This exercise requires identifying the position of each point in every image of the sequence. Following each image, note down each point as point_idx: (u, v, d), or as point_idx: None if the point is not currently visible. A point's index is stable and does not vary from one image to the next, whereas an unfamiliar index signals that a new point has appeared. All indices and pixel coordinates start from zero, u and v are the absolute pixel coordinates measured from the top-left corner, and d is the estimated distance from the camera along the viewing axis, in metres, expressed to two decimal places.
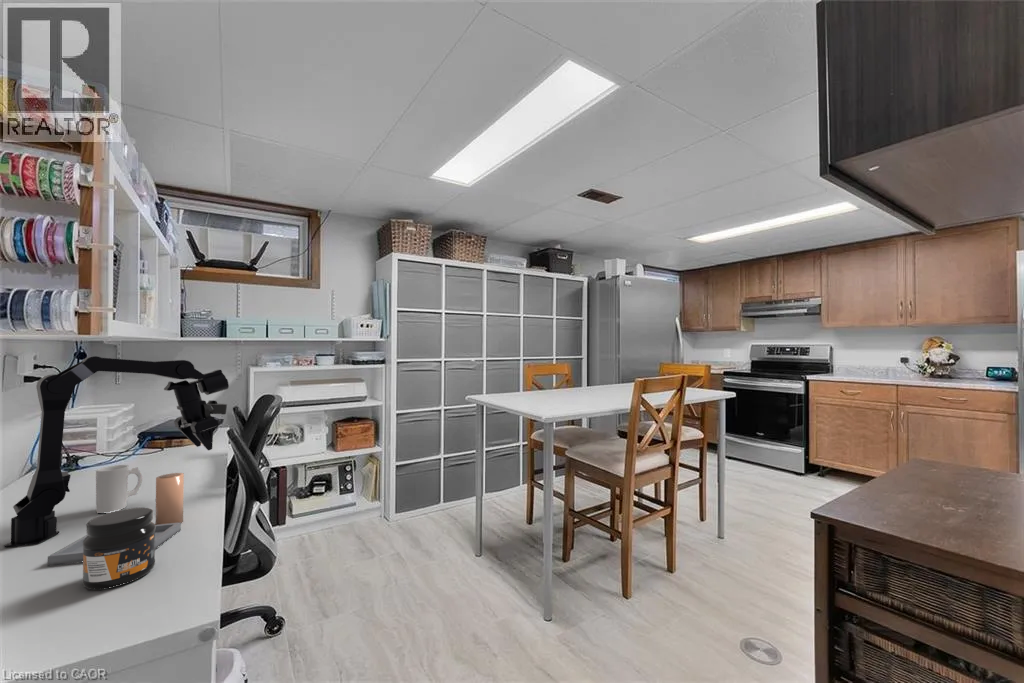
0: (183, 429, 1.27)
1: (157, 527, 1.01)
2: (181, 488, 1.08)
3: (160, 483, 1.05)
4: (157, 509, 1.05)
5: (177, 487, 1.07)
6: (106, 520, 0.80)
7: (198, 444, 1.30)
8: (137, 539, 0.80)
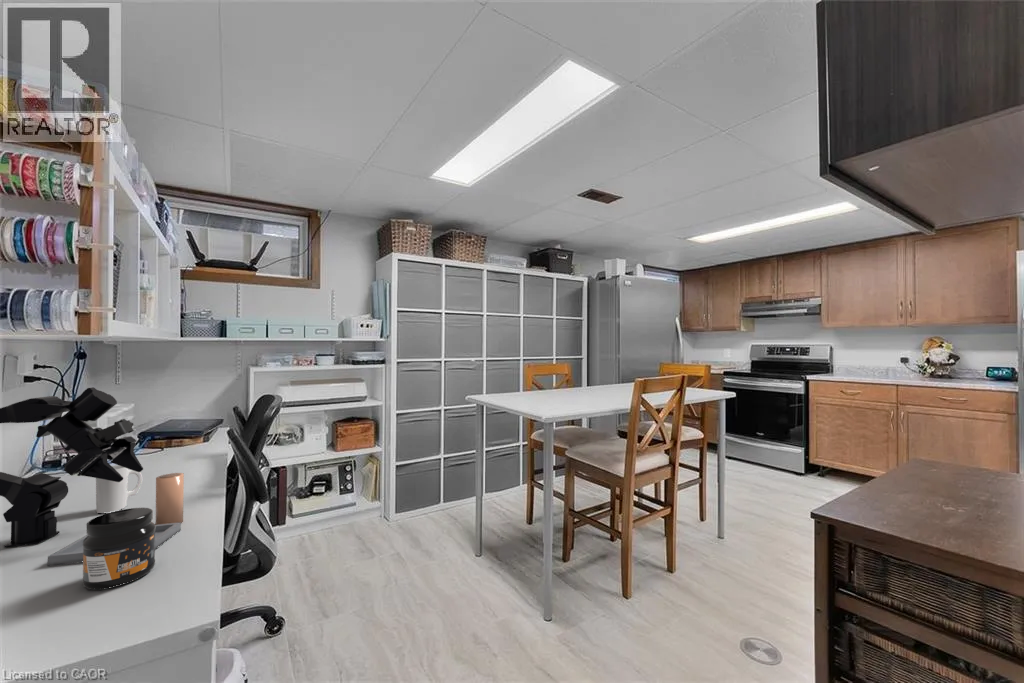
0: (113, 460, 1.08)
1: (157, 527, 1.01)
2: (181, 488, 1.08)
3: (160, 483, 1.05)
4: (157, 509, 1.05)
5: (177, 487, 1.07)
6: (106, 520, 0.80)
7: (139, 469, 1.09)
8: (136, 539, 0.80)
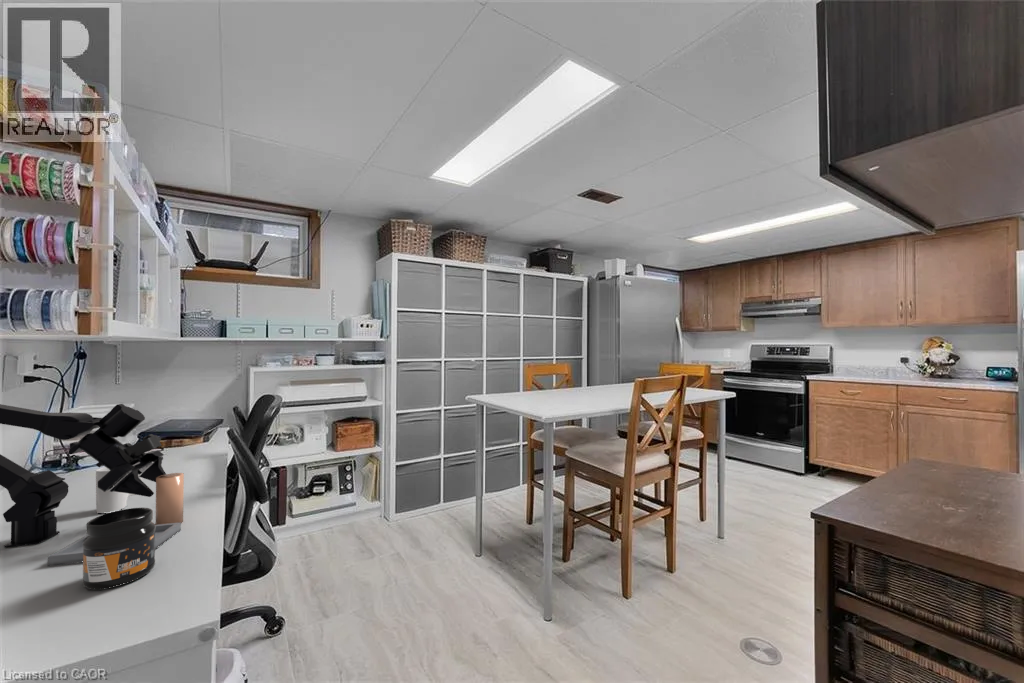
0: (142, 475, 1.10)
1: (157, 527, 1.01)
2: (181, 488, 1.08)
3: (160, 483, 1.05)
4: (157, 509, 1.05)
5: (177, 487, 1.07)
6: (106, 520, 0.80)
7: None
8: (136, 539, 0.80)
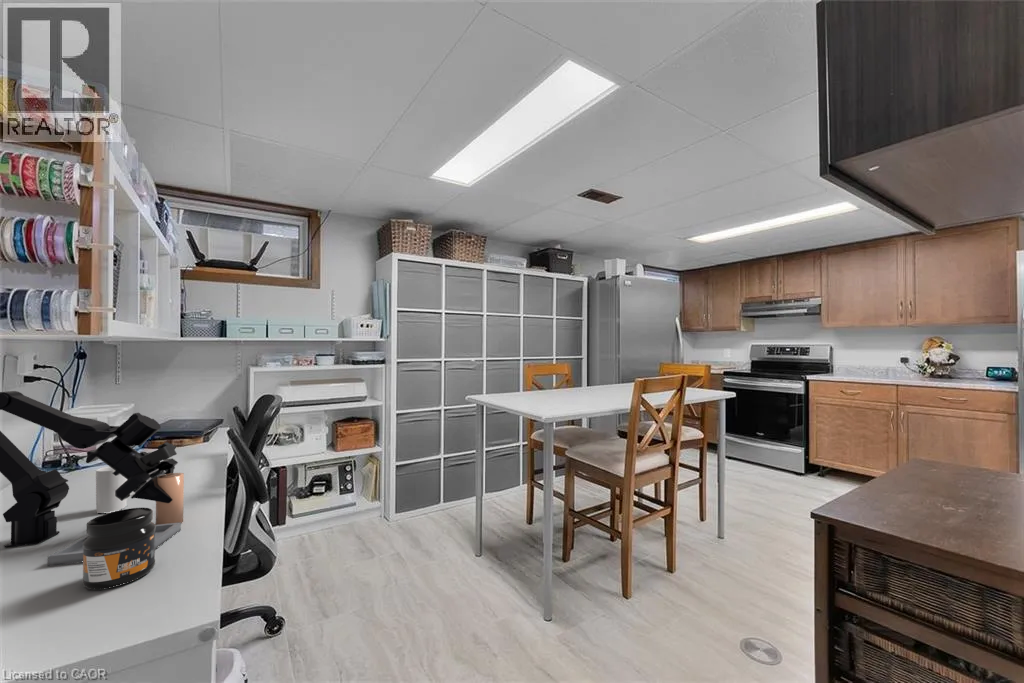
0: None
1: (157, 527, 1.01)
2: (181, 488, 1.08)
3: (160, 483, 1.05)
4: (157, 509, 1.05)
5: (177, 487, 1.07)
6: (106, 520, 0.80)
7: None
8: (136, 539, 0.80)
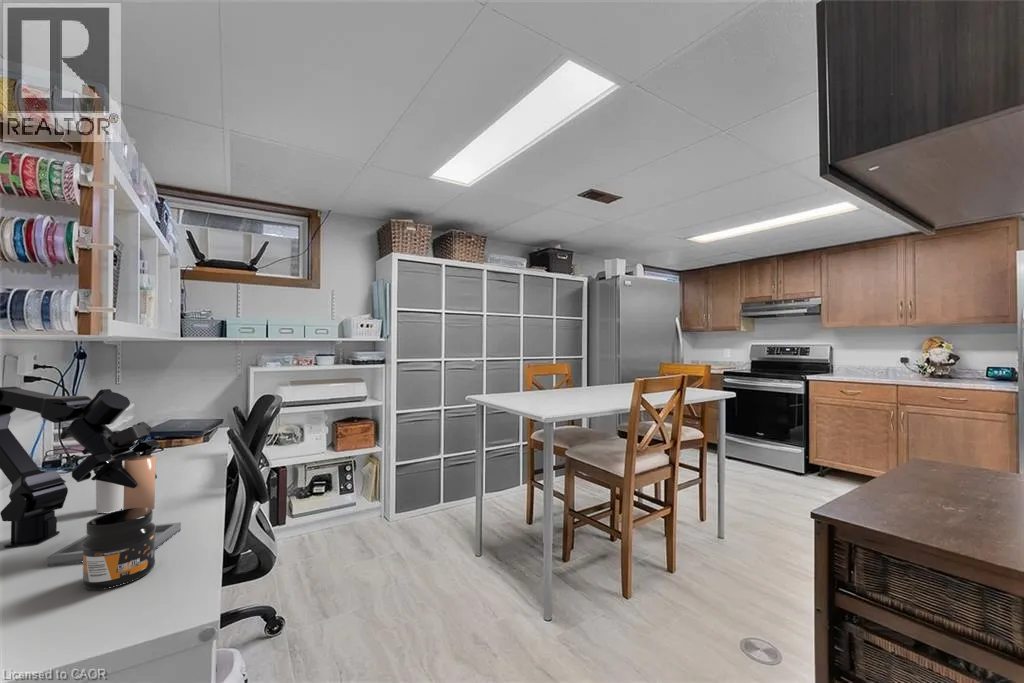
0: None
1: (157, 527, 1.01)
2: (150, 472, 0.99)
3: (127, 466, 0.96)
4: (124, 493, 0.97)
5: (144, 471, 0.98)
6: (106, 520, 0.80)
7: None
8: (136, 539, 0.80)
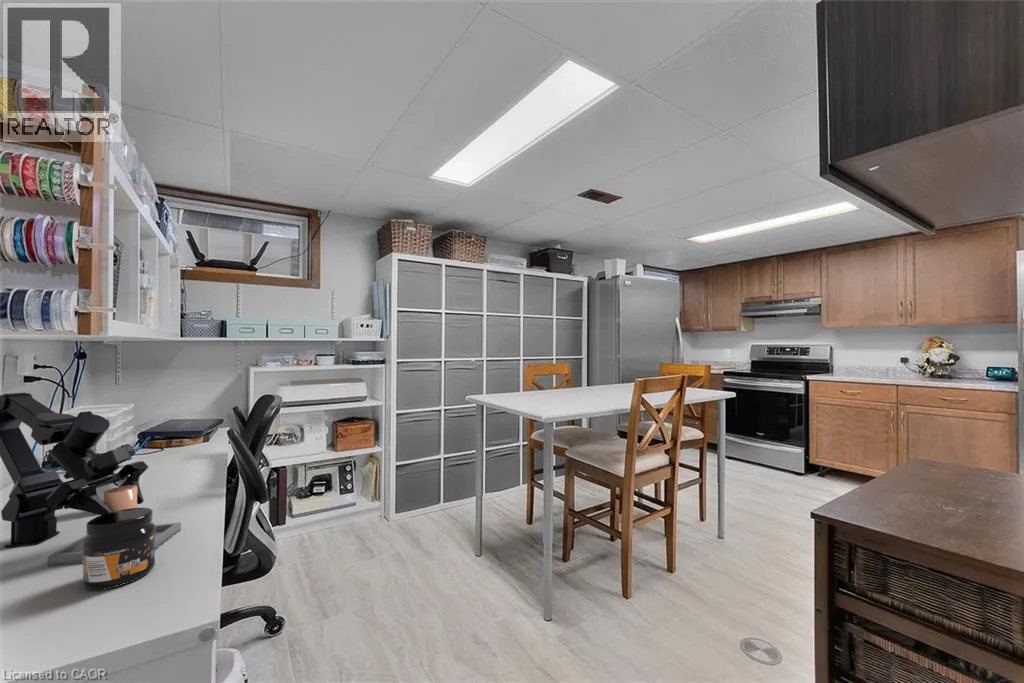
0: None
1: (157, 527, 1.01)
2: (130, 505, 0.94)
3: (105, 498, 0.93)
4: None
5: (123, 504, 0.93)
6: (106, 520, 0.80)
7: (139, 501, 0.99)
8: (136, 539, 0.80)
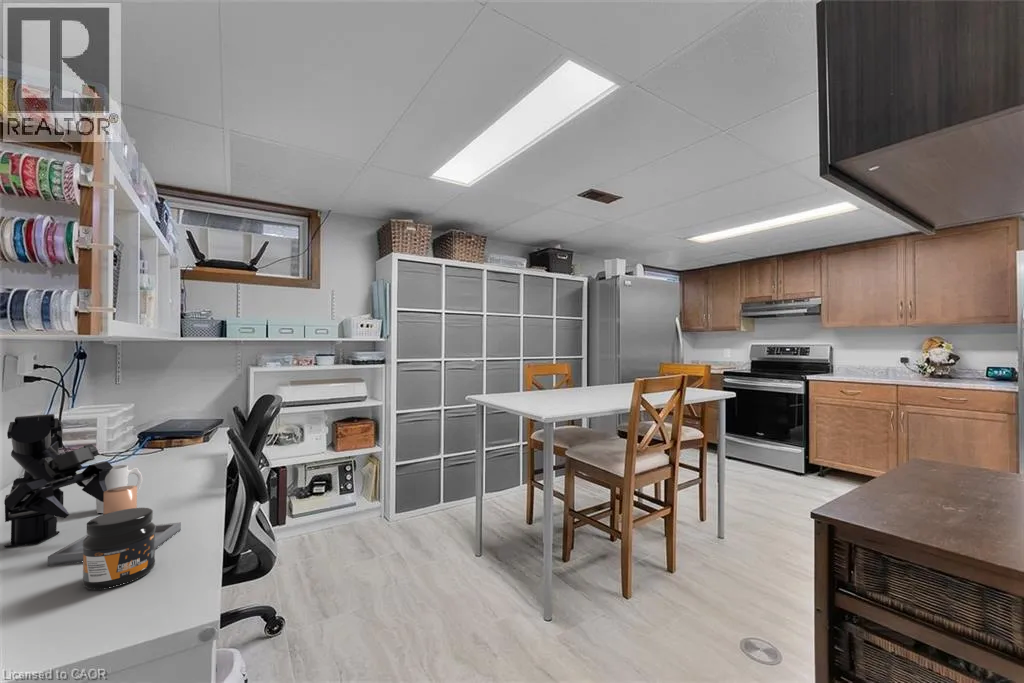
0: (84, 488, 1.01)
1: (157, 527, 1.01)
2: (129, 505, 0.94)
3: (105, 498, 0.93)
4: None
5: (123, 504, 0.93)
6: (106, 520, 0.80)
7: None
8: (137, 539, 0.80)
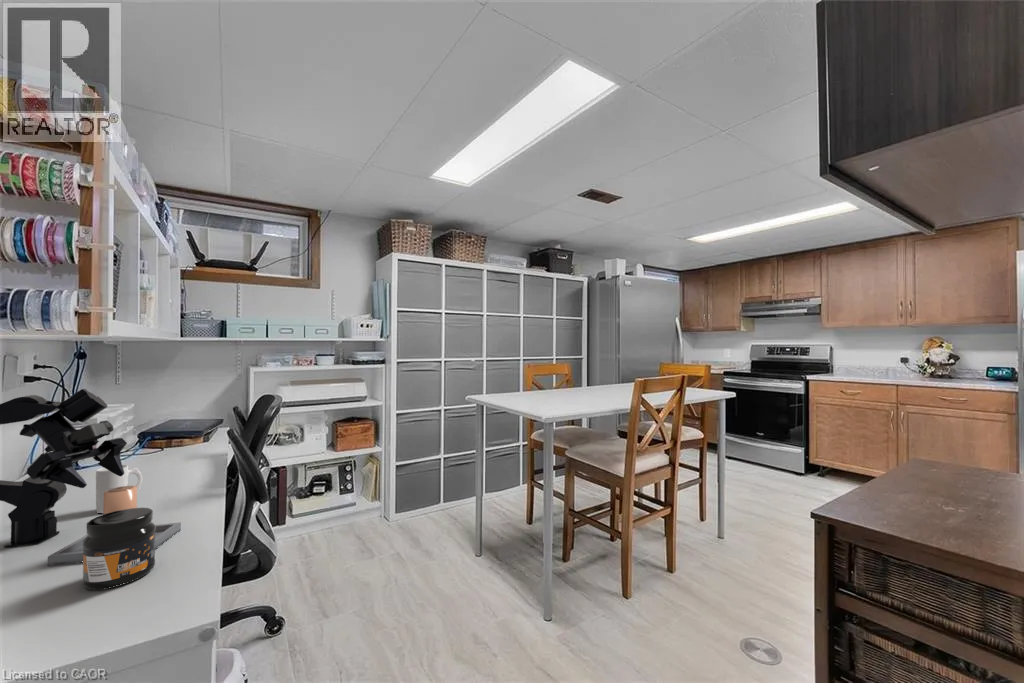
0: (100, 462, 1.06)
1: (157, 527, 1.01)
2: (129, 505, 0.94)
3: (105, 498, 0.93)
4: None
5: (123, 504, 0.93)
6: (106, 520, 0.80)
7: (120, 473, 1.05)
8: (137, 539, 0.80)
